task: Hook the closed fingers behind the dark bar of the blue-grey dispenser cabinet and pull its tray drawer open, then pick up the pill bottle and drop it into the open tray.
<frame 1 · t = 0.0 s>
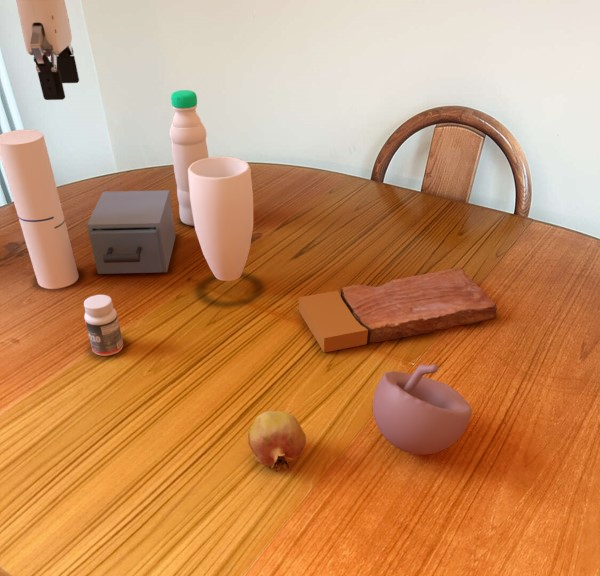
hand: (62, 90, 106), 30 cm above the table, tool pointing down, fingers open, 9 cm apart
fruit: (277, 457, 83), on the table
cabinet: (138, 254, 125), on the table
cylindrical container: (58, 279, 118), on the table
drawer: (130, 241, 119), point 5 cm above the table, slide at 0.5 cm
water bottle: (197, 220, 137), on the table
pill bottle: (108, 349, 102), on the table
mortar and pestle: (416, 442, 85), on the table
brown flat slab: (396, 317, 108), on the table
cup: (229, 290, 115), on the table
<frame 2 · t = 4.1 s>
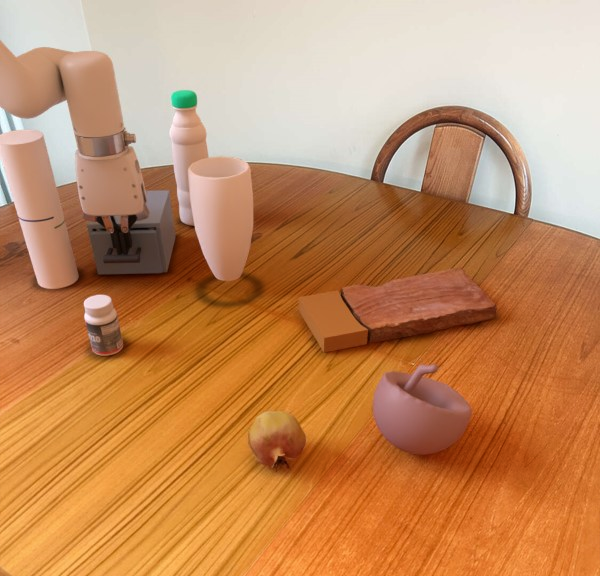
hand: (123, 251, 113), 6 cm above the table, tool pointing down, fingers closed
drawer: (130, 242, 119), point 5 cm above the table, slide at 0.7 cm, touching gripper
everything else where it was.
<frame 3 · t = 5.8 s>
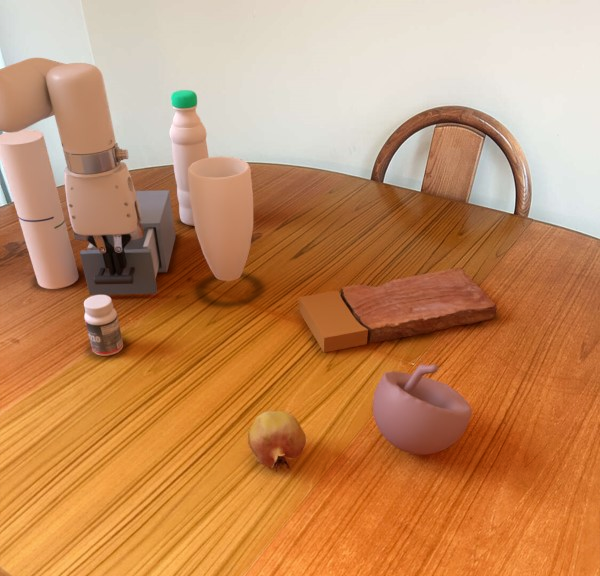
hand: (117, 271, 107), 6 cm above the table, tool pointing down, fingers closed
drawer: (123, 261, 113), point 5 cm above the table, slide at 7.9 cm, touching gripper
everything else where it was.
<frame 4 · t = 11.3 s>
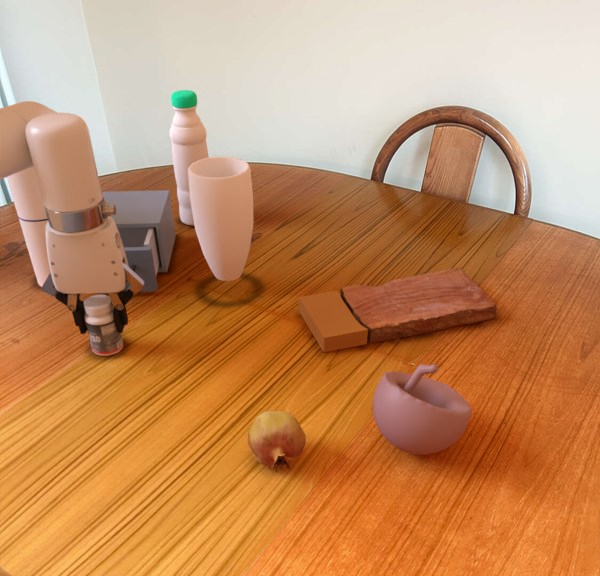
hand: (103, 327, 99), 4 cm above the table, tool pointing down, fingers closed on pill bottle, 4 cm apart
drawer: (124, 259, 114), point 5 cm above the table, slide at 7.1 cm
pill bottle: (108, 349, 102), on the table, touching gripper
everything else where it was.
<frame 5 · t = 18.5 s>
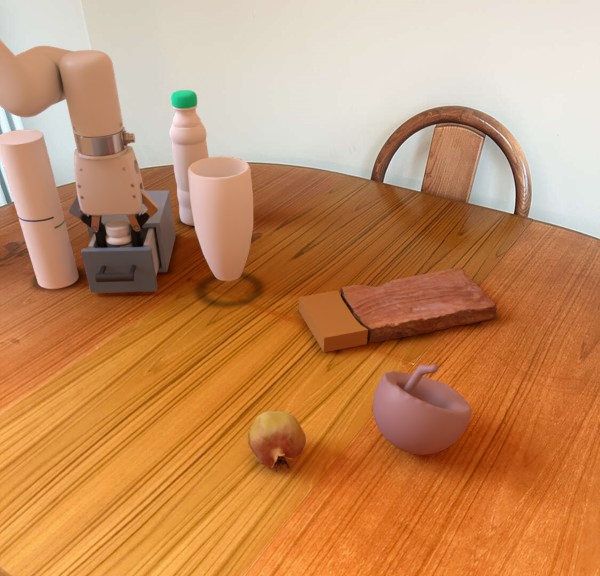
hand: (121, 249, 112), 7 cm above the table, tool pointing down, fingers closed on pill bottle, 4 cm apart
pill bottle: (125, 269, 115), point 3 cm above the table, touching gripper
everything else where it was.
when the fingers open (8 cm above the table, at t = 25.1 s): pill bottle drops 2 cm, resting on drawer.
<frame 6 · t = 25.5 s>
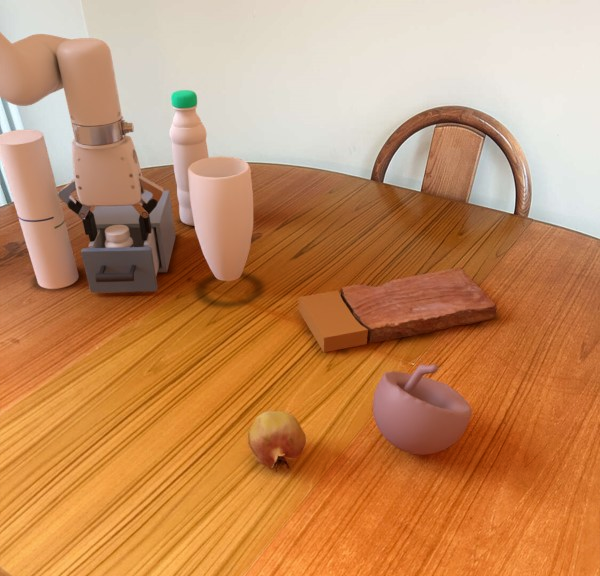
hand: (119, 237, 111), 9 cm above the table, tool pointing down, fingers open, 8 cm apart
drawer: (124, 259, 114), point 5 cm above the table, slide at 7.1 cm, touching pill bottle
pill bottle: (125, 274, 116), point 2 cm above the table, touching drawer
everything else where it was.
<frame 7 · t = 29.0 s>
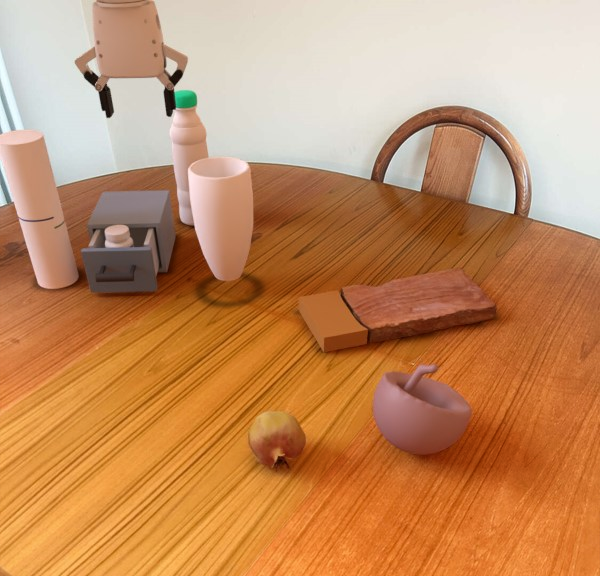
hand: (140, 114, 106), 26 cm above the table, tool pointing down, fingers open, 9 cm apart
nothing on the table moved.
at the end: drawer slide at 7.1 cm; pill bottle inside the target area in the drawer (0.6 cm from its centre), point 1.8 cm above the cabinet's base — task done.
